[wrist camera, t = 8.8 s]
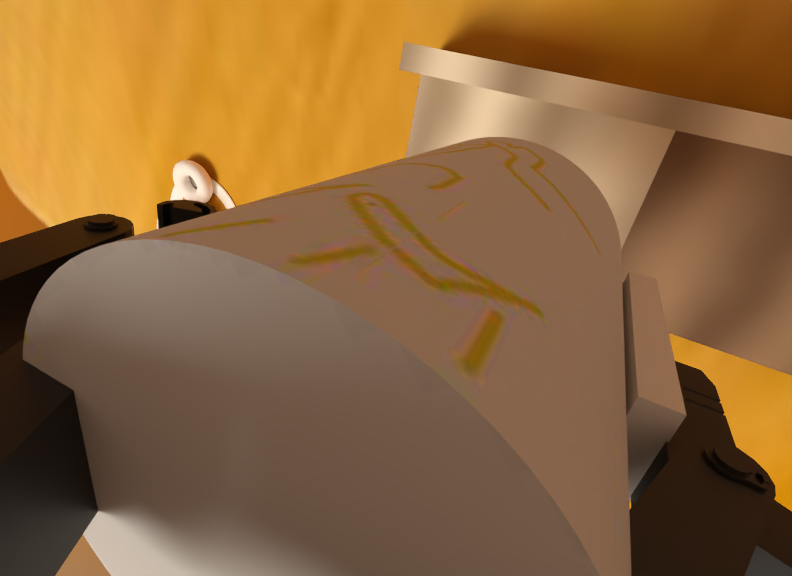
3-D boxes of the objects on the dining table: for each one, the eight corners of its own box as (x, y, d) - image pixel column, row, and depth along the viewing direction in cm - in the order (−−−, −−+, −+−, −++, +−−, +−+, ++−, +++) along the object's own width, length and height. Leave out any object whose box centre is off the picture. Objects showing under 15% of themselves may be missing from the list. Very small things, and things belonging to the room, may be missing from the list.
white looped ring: (187, 145, 37) (143, 150, 33) (259, 201, 36) (222, 212, 32) (168, 228, 41) (127, 239, 38) (231, 279, 40) (195, 296, 37)
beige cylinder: (615, 111, 12) (609, 173, 2) (626, 368, 15) (647, 947, 5) (363, 160, 16) (-62, 266, 6) (406, 359, 18) (155, 672, 8)
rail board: (403, 228, 31) (369, 249, 26) (438, 50, 25) (403, 41, 21) (809, 365, 24) (850, 424, 19) (971, 157, 18) (1074, 175, 14)
